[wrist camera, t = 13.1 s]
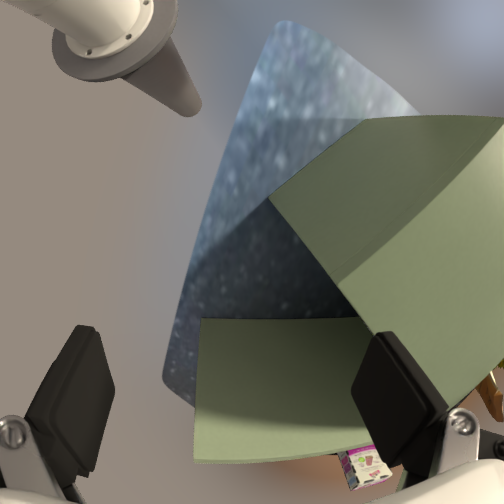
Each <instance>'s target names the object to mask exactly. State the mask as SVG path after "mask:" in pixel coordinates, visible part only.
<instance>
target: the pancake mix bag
mask: <svg viewBox="0 0 504 504" xmlns="http://www.w3.org/2000/svg"><path fill="white" fill-rule="evenodd" d="M475 388H476V390H477V391H478V393H479V394H480V396H481V397H482V399H483V401H484V403H485V405H486V407H487V409H488V411H489V413H490V414H491V415H492V417H493V418H494V419H495V420H496V421H497V422H503V421H504V416H503V405H502V401H503V395H502V393H501V392H500V391H499V389H498V387H497V385H496V383H495V380H494V376H493V374H492V371H491V372H490V373H489V374H488V375H487V376H486V377H485V378H484V379H483V380H482V381H481V382H480V383H479V384H478V385H477V386H476V387H475Z"/></svg>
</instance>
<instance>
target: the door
mask: <svg viewBox="0 0 504 504" xmlns="http://www.w3.org/2000/svg"><path fill="white" fill-rule="evenodd" d="M372 337H373V336H372V334H371V333H370V331H369V330H368V328H367V327H366V326H365V324H364V323H363V321H362V320H361V319H360V317H347V318H322V319H216V318H201V324H200V337H199V350H198V364H197V380H196V398H195V420H194V450H193V453H194V454H193V459H194V463H213V464H219V463H220V464H221V463H222V464H228V463H229V464H233V463H234V464H235V463H258V462H259V463H260V462H274V461H284V460H293V459H301V458H308V457H315V456H321V455H327V454H332V453H338V452H342V451H347V450H352V449H356V448H360V447H364V446H368V445H372V444H374V443H373V441H372V439H371V437H370V434H369V432H368V430H367V428H366V426H365V423H364V421H363V419H362V417H361V415H360V413H359V411H358V408H357V406H356V404H355V402H354V400H353V398H352V395H351V386H352V384H353V382H354V379H355V377H356V375H357V373H358V370H359V368H360V365H361V363H362V361H363V358H364V356H365V353H366V351H367V348H368V346H369V343H370V340H371V338H372Z"/></svg>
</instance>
